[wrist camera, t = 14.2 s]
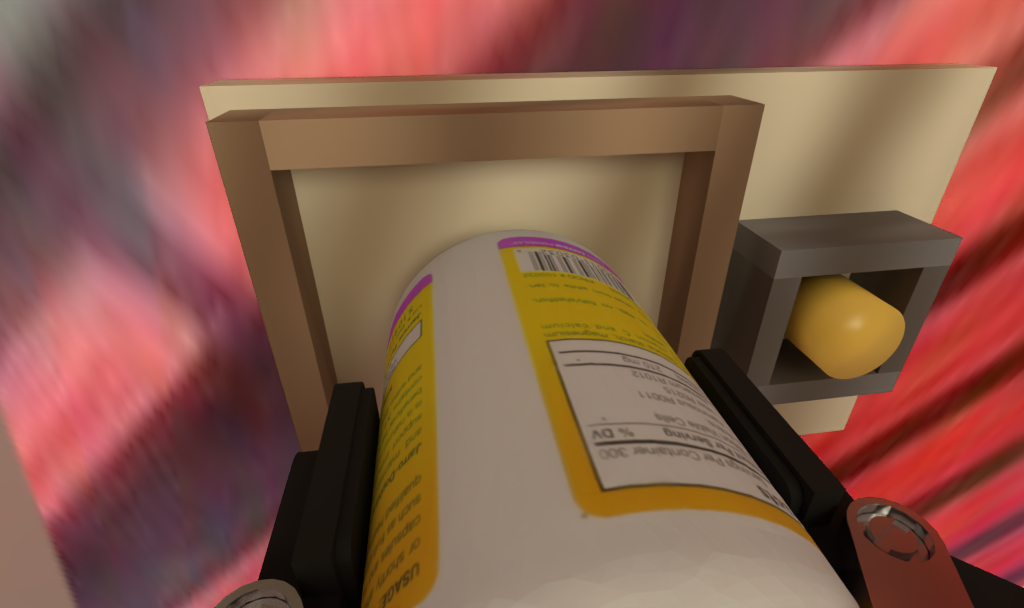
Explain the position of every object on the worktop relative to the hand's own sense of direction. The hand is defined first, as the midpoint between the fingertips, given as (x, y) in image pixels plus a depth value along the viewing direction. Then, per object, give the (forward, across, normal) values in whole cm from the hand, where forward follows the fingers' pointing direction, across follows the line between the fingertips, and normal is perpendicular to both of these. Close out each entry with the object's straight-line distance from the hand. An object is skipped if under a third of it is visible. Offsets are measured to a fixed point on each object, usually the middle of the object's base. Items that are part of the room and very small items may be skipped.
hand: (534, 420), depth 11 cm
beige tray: (+6, -3, 0) cm, 7 cm away
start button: (+4, -9, 0) cm, 10 cm away
